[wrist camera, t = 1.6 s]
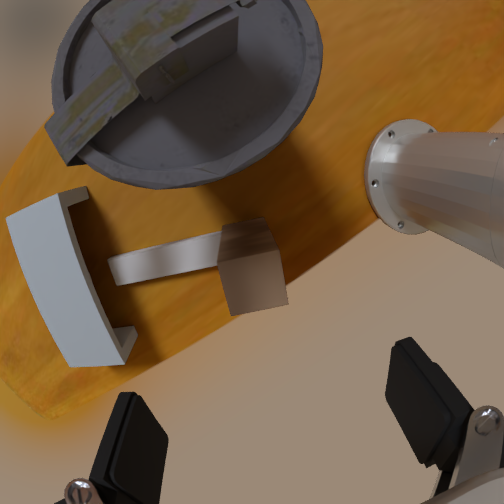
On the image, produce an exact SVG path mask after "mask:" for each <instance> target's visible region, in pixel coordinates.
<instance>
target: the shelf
mask: <svg viewBox="0 0 504 504" xmlns="http://www.w3.org/2000/svg"><path fill="white" fill-rule="evenodd" d="M87 199H89V196H88V192H87V188H86V186H83V187H79V188H75V189H72V190H68V191H64V192H61V193H57V194H55V195H53V196H50V197H48V198H46V199H44V200H42V201H39V202H37V203H35V204H33V205H31V206H29V207H27V208H25V209H22V210H20V211H18V212H16V213H14V214H12V215H10V216H9V217H7V218H6V221H7V225H8V228H9V232H10V235H11V238H12V242H13V245H14V248H15V251H16V254H17V257H18V260H19V262H20V265H21V268H22V271H23V273H24V276H25V278H26V281H27V283H28V286H29V288H30V291H31V293H32V295H33V298H34V300H35V302H36V304H37V306H38V309H39V311H40V313H41V315H42V317H43V319H44V321H45V323H46V325H47V327H48V329H49V331H50V333H51V335H52V337H53V338H54V340H55V342H56V344H57V346H58V347H59V349H60V351H61V353H62V354H63V356H64V358H65V360H66V361H67V363H68V364H69V366H70V367H89V366H110V365H125V363H126V361H127V358H128V356H129V354H130V352H131V350H132V347H133V345H134V343H135V341H136V339H137V337H138V334H137V332H136V330H135V327H134V326H128V327H121V328H113V329H112V327H111V325H110V323H109V321H108V318H107V316H106V314H105V312H104V310H103V307H102V305H101V303H100V300H99V298H98V296H97V293H96V291H95V288H94V286H93V283H92V281H91V278H90V275H89V273H88V270H87V267H86V265H85V262H84V259H83V256H82V253H81V250H80V247H79V244H78V241H77V238H76V235H75V232H74V229H73V225H72V222H71V218H70V215H69V211H68V208H67V207H68V206H70V205H73V204H76V203H78V202H81V201H84V200H87Z"/></svg>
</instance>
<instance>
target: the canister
mask: <svg viewBox="0 0 504 504" xmlns="http://www.w3.org/2000/svg"><path fill="white" fill-rule="evenodd" d="M322 58H323V44H322V39H321V35H320V31H319V27H318V23H317V21H316V19H315V17H314V15H313V13H312V11H311V9H310V7H309V6H308V4H307V2H306V1H305V0H90V1H89V2H88V3H87V4H86V5H85V6H84V7H83V8H82V9H81V11H80V12H79V14H78V15H77V16H76V18H75V19H74V21H73V22H72V24H71V25H70V27H69V29H68V31H67V33H66V35H65V37H64V38H63V40H62V42H61V44H60V46H59V49H58V52H57V57H56V61H55V65H54V70H53V75H52V104H53V108H54V112H55V113H54V115H53V116H52V117H51V118H50V119H49V120H48V121H47V123H46V124H45V127H44V128H45V129H46V131H47V133H48V135H49V137H50V138H51V140H52V142H53V144H54V145H55V147H56V149H57V151H58V152H59V154H60V156H61V157H62V159H63V161H64V162H65V164H66V166H75V165H84V164H88V165H89V166H90V167H91V168H92V169H94V170H95V171H97V172H99V173H101V174H102V175H104V176H106V177H108V178H110V179H111V180H115V181H118V182H122V183H125V184H129V185H132V186H136V187H143V188H149V189H155V190H159V189H176V188H188V187H196V186H199V185H203V184H207V183H210V182H214V181H218V180H220V179H222V178H225V177H227V176H230V175H232V174H235V173H237V172H239V171H242V170H244V169H245V168H247V167H248V166H250V165H252V164H253V163H255V162H257V161H258V160H260V159H262V158H264V157H265V156H266V155H267V154H269V153H270V152H271V151H272V150H273V149H274V148H276V147H277V146H278V145H279V144H280V143H282V142H283V141H284V140H285V139H286V138H287V136H288V135H289V134H290V133H291V132H292V131H293V130H294V128H295V127H296V126H297V125H298V124H299V123H300V122H301V120H302V118H303V116H304V114H305V113H306V111H307V109H308V107H309V106H310V104H311V102H312V100H313V99H314V97H315V93H316V90H317V86H318V83H319V78H320V73H321V69H322Z"/></svg>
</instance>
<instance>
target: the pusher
mask: <svg viewBox="0 0 504 504" xmlns="http://www.w3.org/2000/svg"><path fill="white" fill-rule="evenodd" d="M107 261H108V264H109V266H110V269H111V272H112V275H113V277H114V280H115V283H116V285H117V286H119V285H124V284H129V283H134V282H139V281H144V280H149V279H154V278H159V277H164V276H168V275H173V274H178V273H183V272H188V271H193V270H198V269H203V268H207V267H212V266H218V270H219V274H220V278H221V281H222V285H223V289H224V292H225V296H226V300H227V303H228V307H229V311H230V314H231V316H235V315H240V314H245V313H250V312H255V311H259V310H265V309H269V308H274V307H279V306H283V305H287V304H288V298H287V292H286V286H285V280H284V274H283V268H282V262H281V257H280V251H279V248H278V246H277V244H276V242H275V240H274V238H273V236H272V234H271V231H270V229H269V227H268V225H267V223H266V221H265V219H264V217H261V218H256V219H251V220H246V221H242V222H237V223H232V224H228V225H223V226H222V231H219V232H215V233H210V234H206V235H201V236H197V237H192V238H188V239H183V240H179V241H175V242H170V243H166V244H162V245H157V246H153V247H149V248H145V249H140V250H136V251H132V252H128V253H124V254H120V255H116V256H112V257H110V258H109V259H108V260H107Z"/></svg>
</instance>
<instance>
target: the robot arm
mask: <svg viewBox="0 0 504 504" xmlns="http://www.w3.org/2000/svg"><path fill="white" fill-rule="evenodd" d="M388 133H389V135H388ZM364 178H365V188H366V192H367V196H368V199H369V201H370V204H371V206H372V208H373V210H374V211H375V213H376V214H377V216H378V217H379V218H380V219H381V220H382V221H383V222H384V223H385V224H386V225H388V226H389V227H391V228H392V229H394V230H396V231H398V232H401V233H405V234H420V233H424V232H426V231H428V230H431V231H433V232H435V233H437V234H439V235H441V236H443V237H445V238H447V239H450V240H452V241H454V242H456V243H457V244H460V245H461V246H464V247H465V248H467V249H469V250H471V251H473V252H475V253H477V254H479V255H481V256H483V257H485V258H487V259H488V260H490V261H492V262H494V263H495V264H497V265H499V266H501V267H502V268H504V133H488V132H438V131H437V130H436V129H435V128H433V127H432V126H430V125H428V124H427V123H425V122H422V121H419V120H412V119H407V120H400V121H396V122H393V123H391V124H389V125H388V126H386V127H384V128H383V129H382V130H381V131H380V132H379V133H378V134H377V136H376V137H375V139H374V140H373V142H372V144H371V146H370V148H369V150H368V153H367V158H366V162H365V172H364ZM372 181H373V185H372ZM385 396H386V400H387V402H388V404H389V406H390V408H391V410H392V412H393V413H394V415H395V417H396V419H397V421H398V423H399V425H400V427H401V428H402V430H403V432H404V434H405V436H406V438H407V440H408V442H409V444H410V446H411V448H412V449H413V451H414V453H415V455H416V457H417V459H418V461H419V463H421V464H423V463H424V464H425V466H426V468H428V467H430V466H431V465H433V464H436V465H437V467H438V469H439V470H440V471H439V474H438V477H437V480H436V483H435V486H434V488H433V491H432V494H431V496H430V499H429V500H427V501H425V502H423V503H421V504H504V416H503V414H502V412H501V411H500V410H499V409H497V408H496V407H493V406H482V407H480V408H478V409H476V410H474V409H473V408H472V406H471V405H470V404H469V402H468V401H467V400H466V399H465V397H464V396H463V395H462V393H461V392H460V391H459V390H458V388H457V387H456V386H455V384H454V383H453V382H452V381H451V379H450V378H449V377H448V376H447V375H446V373H445V372H444V371H443V370H442V368H441V367H440V366H439V365H438V364H437V363H435V362H432V361H431V359H430V358H429V357H428V356H427V355H426V353H425V352H424V351H423V350H422V349H421V348H420V346H419V345H418V344H417V343H416V342H415V340H414V339H413V338H412V337H408V338H405V339H402V340H399V341H397V342H396V343H395V346H394V347H392V349H391V357H390V365H389V372H388V379H387V385H386V391H385ZM167 448H168V436H167V434H166V433H165V431H164V430H163V428H162V427H161V425H160V424H159V423H158V421H157V420H156V419H155V417H154V415H153V414H152V412H151V411H150V409H149V408H148V406H147V405H146V403H145V402H144V400H143V398H142V397H141V396H140V395H137V394H136V393H135V392H121V393H120V394H119V395H118V398H117V400H116V403H115V405H114V408H113V411H112V413H111V416H110V419H109V421H108V424H107V427H106V430H105V432H104V435H103V438H102V440H101V443H100V446H99V449H98V452H97V455H96V458H95V461H94V464H93V467H92V470H91V473H90V476H89V480H87V479H84V478H77V479H74V480H72V481H71V482H69V483H68V485H67V486H66V488H65V491H64V497H65V499H62V500H60V501H58V502H56V503H54V504H159V501H160V493H161V486H162V479H163V472H164V466H165V459H166V454H167Z"/></svg>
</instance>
